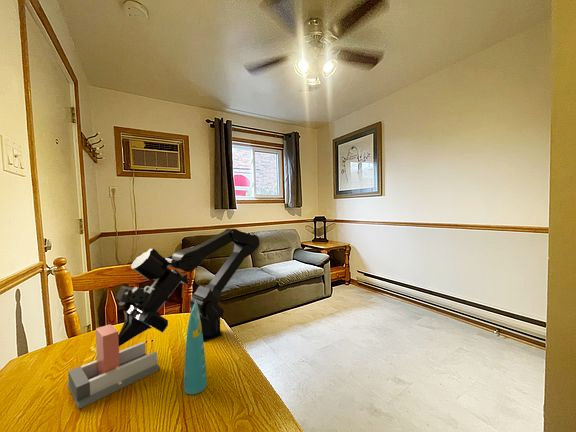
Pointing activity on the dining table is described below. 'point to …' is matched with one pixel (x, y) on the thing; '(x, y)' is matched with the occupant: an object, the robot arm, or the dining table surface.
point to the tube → (194, 355)
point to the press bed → (111, 375)
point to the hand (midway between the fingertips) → (116, 345)
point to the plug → (107, 349)
